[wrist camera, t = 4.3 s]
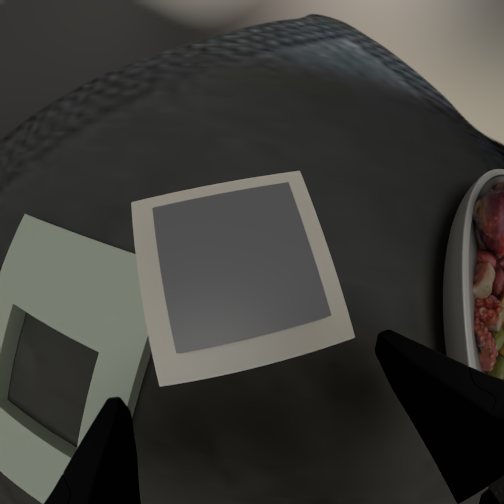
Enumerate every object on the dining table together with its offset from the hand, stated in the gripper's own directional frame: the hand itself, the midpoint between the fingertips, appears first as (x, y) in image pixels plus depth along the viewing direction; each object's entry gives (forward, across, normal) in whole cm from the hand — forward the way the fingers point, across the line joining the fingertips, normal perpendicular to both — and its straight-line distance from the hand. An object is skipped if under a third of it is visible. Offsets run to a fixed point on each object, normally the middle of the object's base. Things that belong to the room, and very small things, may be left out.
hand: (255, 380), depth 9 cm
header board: (+8, +14, +6) cm, 17 cm away
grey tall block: (+9, 0, +5) cm, 10 cm away
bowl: (+3, -29, +12) cm, 31 cm away
